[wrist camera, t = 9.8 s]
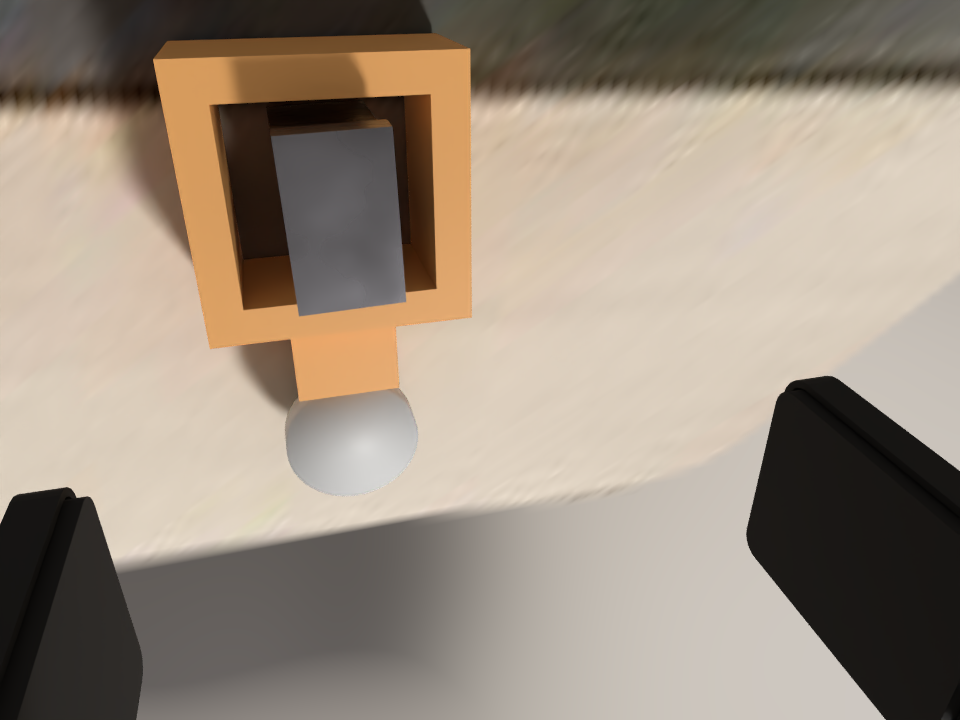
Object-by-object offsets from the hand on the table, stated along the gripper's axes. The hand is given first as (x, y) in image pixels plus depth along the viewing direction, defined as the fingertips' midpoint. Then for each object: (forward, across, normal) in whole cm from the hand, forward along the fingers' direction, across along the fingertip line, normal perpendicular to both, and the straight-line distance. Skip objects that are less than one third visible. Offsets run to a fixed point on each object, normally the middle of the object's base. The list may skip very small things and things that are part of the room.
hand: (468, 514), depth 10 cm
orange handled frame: (+19, +1, +4) cm, 20 cm away
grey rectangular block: (+19, 0, 0) cm, 19 cm away
